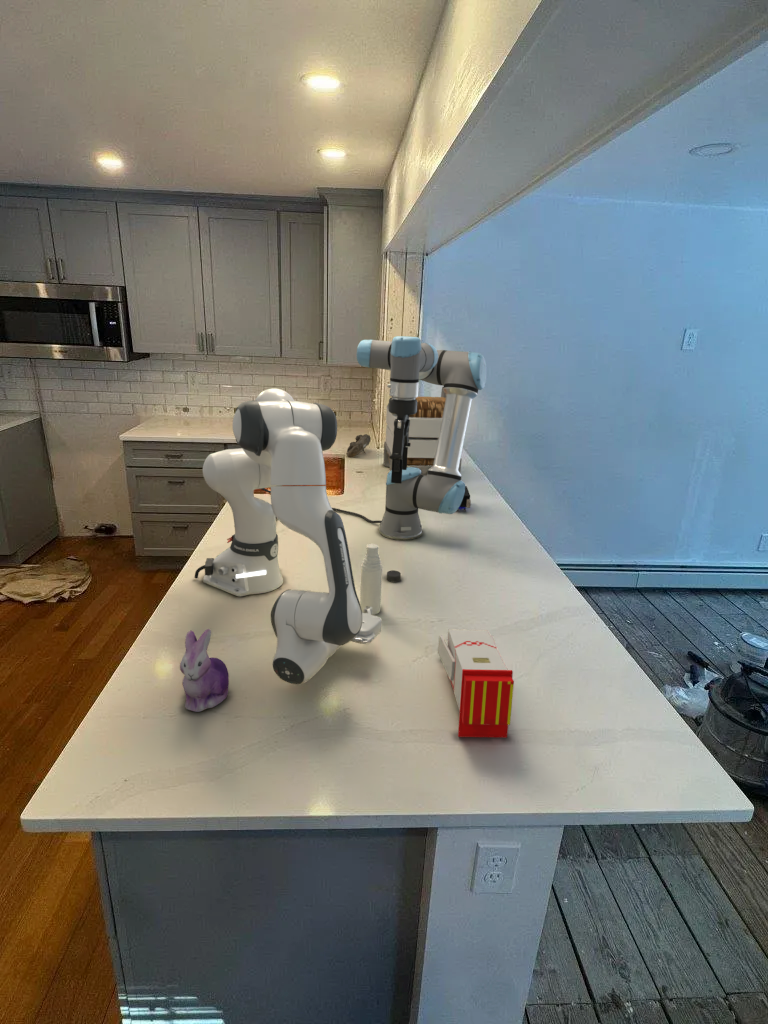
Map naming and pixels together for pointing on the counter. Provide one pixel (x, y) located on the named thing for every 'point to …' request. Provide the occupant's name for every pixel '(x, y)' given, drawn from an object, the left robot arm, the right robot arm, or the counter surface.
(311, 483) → the left robot arm
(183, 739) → the counter surface
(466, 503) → the figurine character
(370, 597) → the bottle
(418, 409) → the gray slatted crate
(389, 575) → the cap
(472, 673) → the toy
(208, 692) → the figurine
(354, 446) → the fossil
